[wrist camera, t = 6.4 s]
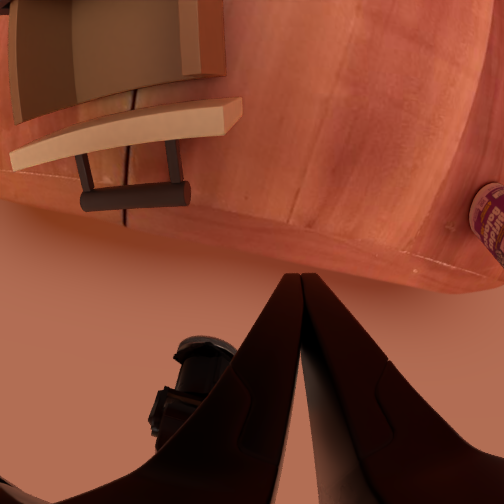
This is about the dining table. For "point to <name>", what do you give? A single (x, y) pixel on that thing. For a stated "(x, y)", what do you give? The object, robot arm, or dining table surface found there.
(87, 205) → the drawer
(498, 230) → the pill bottle
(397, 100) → the dining table surface
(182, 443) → the robot arm
